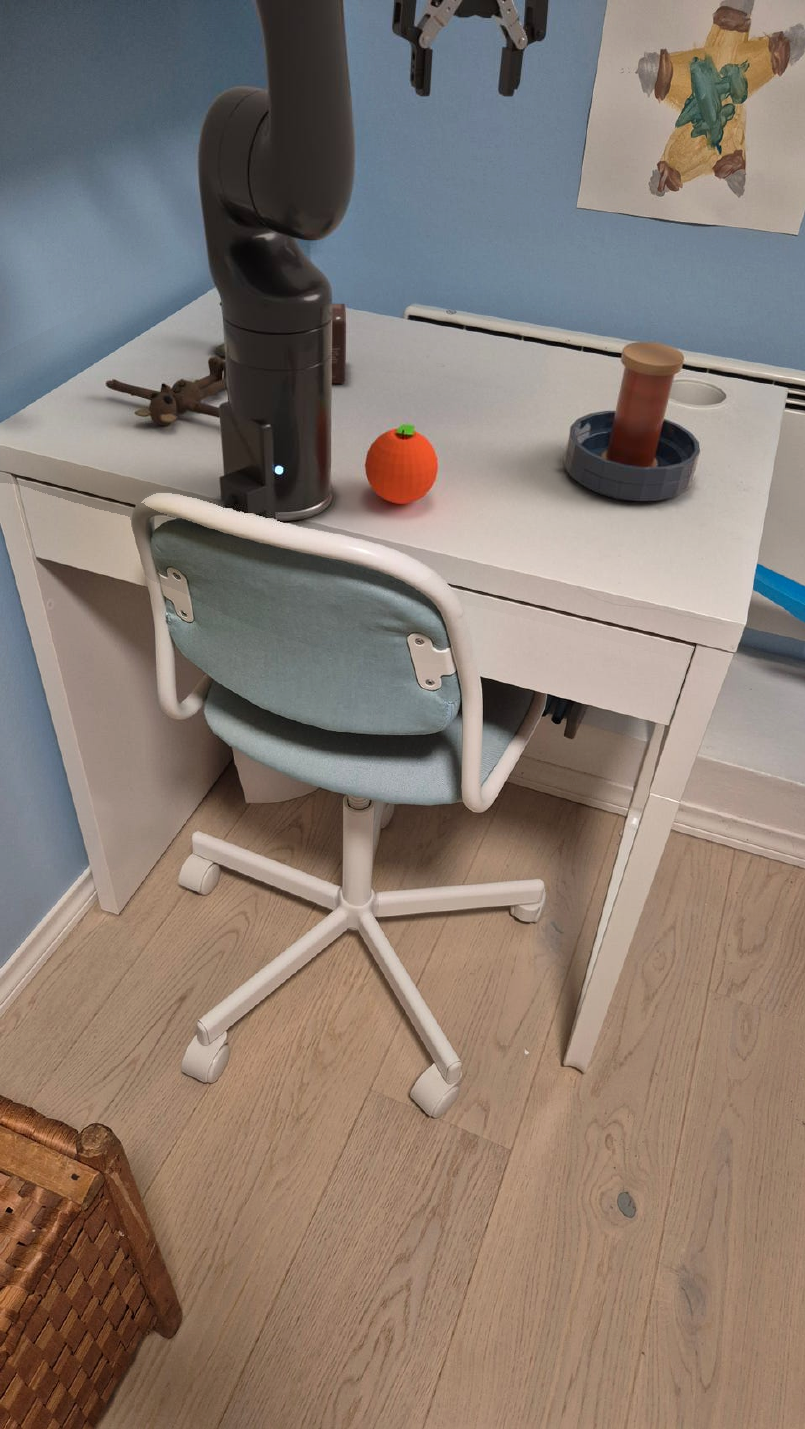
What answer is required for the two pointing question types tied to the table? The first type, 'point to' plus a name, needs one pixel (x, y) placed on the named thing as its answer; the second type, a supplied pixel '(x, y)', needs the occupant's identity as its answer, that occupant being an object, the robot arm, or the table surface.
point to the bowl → (630, 481)
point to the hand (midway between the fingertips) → (464, 95)
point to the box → (338, 343)
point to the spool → (642, 402)
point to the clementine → (401, 465)
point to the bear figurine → (179, 395)
